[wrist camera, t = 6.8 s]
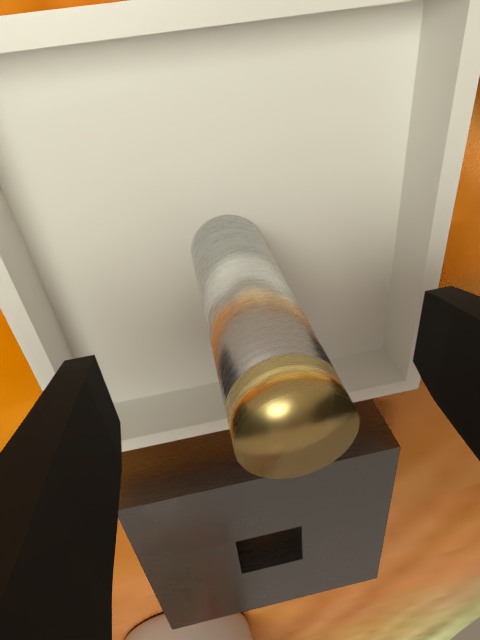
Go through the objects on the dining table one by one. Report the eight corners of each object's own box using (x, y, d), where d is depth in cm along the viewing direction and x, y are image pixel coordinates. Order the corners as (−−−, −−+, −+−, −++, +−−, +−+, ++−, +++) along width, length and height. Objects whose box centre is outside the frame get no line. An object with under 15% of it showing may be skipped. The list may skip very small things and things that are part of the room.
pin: (259, 208, 14) (364, 378, 8) (264, 273, 15) (356, 463, 9) (185, 221, 14) (226, 406, 7) (197, 286, 15) (241, 490, 9)
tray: (437, -35, 12) (502, -45, 10) (388, 347, 19) (418, 388, 17) (-84, 28, 10) (-140, 32, 8) (85, 409, 18) (78, 461, 16)
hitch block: (370, 396, 21) (400, 446, 19) (356, 529, 28) (376, 578, 26) (118, 450, 20) (115, 511, 18) (169, 574, 27) (172, 629, 25)
